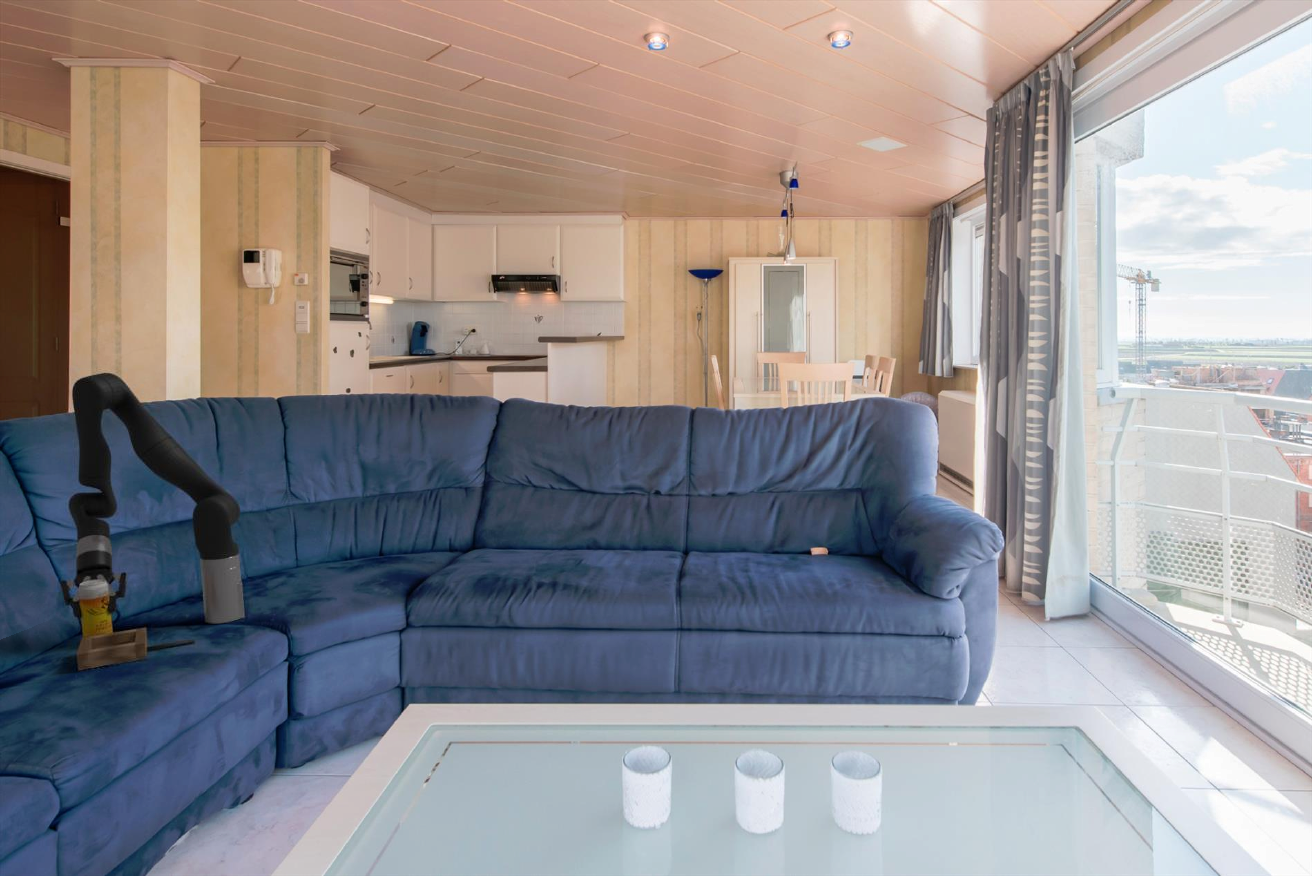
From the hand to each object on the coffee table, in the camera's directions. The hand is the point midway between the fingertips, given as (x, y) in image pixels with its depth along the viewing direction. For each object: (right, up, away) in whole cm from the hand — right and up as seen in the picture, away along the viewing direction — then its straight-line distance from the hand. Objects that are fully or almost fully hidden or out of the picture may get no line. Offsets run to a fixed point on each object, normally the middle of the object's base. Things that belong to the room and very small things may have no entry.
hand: (95, 614), depth 200 cm
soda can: (-1, -7, +2) cm, 8 cm away
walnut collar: (+14, -8, -5) cm, 17 cm away
